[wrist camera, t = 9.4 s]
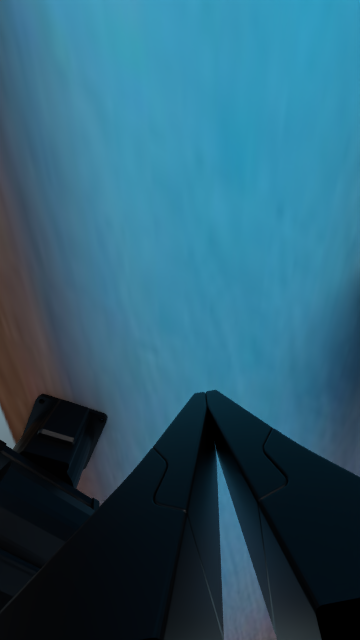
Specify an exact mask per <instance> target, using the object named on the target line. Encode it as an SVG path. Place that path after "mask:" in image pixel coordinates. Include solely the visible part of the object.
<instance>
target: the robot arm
mask: <svg viewBox="0 0 360 640" xmlns="http://www.w3.org/2000/svg"><path fill="white" fill-rule="evenodd" d="M41 399H44V401H42V400H41ZM100 418H103V419H104V420H101V419H100ZM106 421H107V415H106V414H104V413H101V412H98V411H95V410H92V409H89V408H87V407H84V406H81V405H78V404H75V403H72V402H69V401H65V400H61V399H58V398H55V397H52V396H49V395H46V394H41V395H39V396H38V398H37V399H36V401H35V404H34V407H33V409H32V412H31V415H30V417H29V420H28V423H27V425H26V428H25V431H24V434H23V436H22V437H21V439H20V440H19V441H18V443H17V444H16V445H15V447H14V448H13V449H11V448H9V447H8V446H6V443H5V442H3V441H1V440H0V640H224V630H223V605H222V581H221V556H220V532H219V508H218V483H217V459H216V451H217V455H218V458H219V461H220V464H221V467H222V470H223V474H224V477H225V480H226V483H227V486H228V489H229V492H230V495H231V498H232V501H233V505H234V508H235V511H236V514H237V517H238V520H239V523H240V526H241V529H242V532H243V536H244V539H245V542H246V545H247V548H248V551H249V554H250V557H251V560H252V563H253V567H254V570H255V573H256V576H257V579H258V582H259V585H260V588H261V591H262V594H263V598H264V601H265V604H266V607H267V610H268V613H269V616H270V619H271V622H272V625H273V629H274V632H275V634H276V637H277V640H360V477H359V476H357V475H355V474H353V473H351V472H349V471H347V470H345V469H344V468H342V467H340V466H338V465H336V464H334V463H332V462H330V461H329V460H327V459H325V458H323V457H321V456H319V455H317V454H315V453H314V452H312V451H310V450H308V449H307V448H305V447H303V446H301V445H299V444H298V443H296V442H294V441H293V440H291V439H290V438H288V437H287V436H285V435H283V434H282V433H280V432H279V431H277V430H276V429H273V428H272V427H271V426H269V425H268V424H266V423H265V422H263V421H262V420H260V419H259V418H257V417H256V416H254V415H253V414H251V413H250V412H248V411H247V410H245V409H244V408H242V407H241V406H239V405H238V404H236V403H235V402H233V401H232V400H230V399H229V398H227V397H226V396H224V395H223V394H222V393H220V392H219V391H217V390H212V391H207V392H206V394H205V392H200V393H195V394H194V395H193V396H192V397H191V399H190V400H189V401H188V402H187V404H186V405H185V406H184V408H183V409H182V410H181V411H180V413H179V414H178V415H177V417H176V418H175V419H174V420H173V422H172V423H171V424H170V426H169V427H168V428H167V430H166V431H165V432H164V433H163V435H162V436H161V437H160V439H159V440H158V441H157V442H156V444H155V445H154V446H153V448H151V450H150V451H149V452H148V453H147V455H146V456H145V457H144V458H143V460H142V461H141V462H140V463H139V464H138V466H137V467H136V468H135V469H134V470H133V472H132V473H131V474H130V475H129V476H128V477H127V478H126V479H125V480H124V481H123V482H122V484H121V485H120V486H119V487H118V488H117V489H116V490H115V491H114V492H113V493H112V494H111V495H110V496H109V497H108V498H107V499H106V500H105V501H104V503H103V504H102V505H101V506H100V507H99V501H98V500H96V499H95V498H92V499H91V498H90V497H88V496H87V495H85V494H83V493H82V492H80V491H79V490H77V489H76V488H77V485H78V482H79V479H80V476H81V474H82V471H83V469H85V468H86V466H87V464H88V462H89V459H90V457H91V455H92V453H93V450H94V448H95V446H96V444H97V442H98V439H99V437H100V435H101V433H102V430H103V428H104V426H105V424H106ZM214 441H215V442H214ZM215 446H216V448H215Z"/></svg>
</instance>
